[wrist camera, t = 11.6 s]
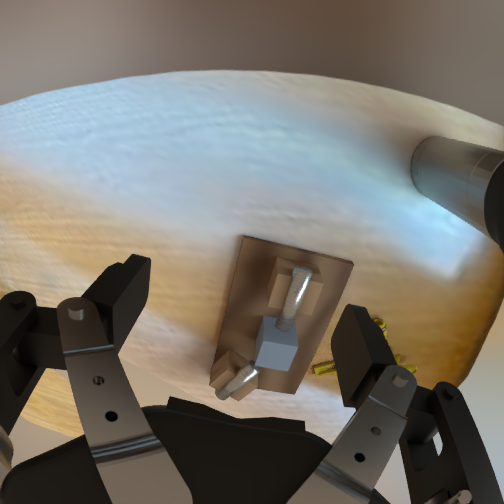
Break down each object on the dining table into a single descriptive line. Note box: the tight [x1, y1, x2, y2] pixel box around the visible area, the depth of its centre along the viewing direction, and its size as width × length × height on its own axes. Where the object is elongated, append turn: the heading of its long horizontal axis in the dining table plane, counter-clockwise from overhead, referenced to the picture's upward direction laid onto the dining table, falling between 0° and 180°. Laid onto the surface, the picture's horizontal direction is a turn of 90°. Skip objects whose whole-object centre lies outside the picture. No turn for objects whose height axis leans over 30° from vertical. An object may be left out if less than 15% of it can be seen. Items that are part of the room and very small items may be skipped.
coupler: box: [255, 316, 298, 371], centre depth 46 cm, size 5×5×6 cm
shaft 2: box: [275, 265, 313, 332], centre depth 41 cm, size 2×9×2 cm, turn 167°
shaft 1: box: [215, 360, 261, 400], centre depth 48 cm, size 2×9×2 cm, turn 142°
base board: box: [209, 235, 354, 401], centre depth 47 cm, size 16×28×6 cm, turn 167°
